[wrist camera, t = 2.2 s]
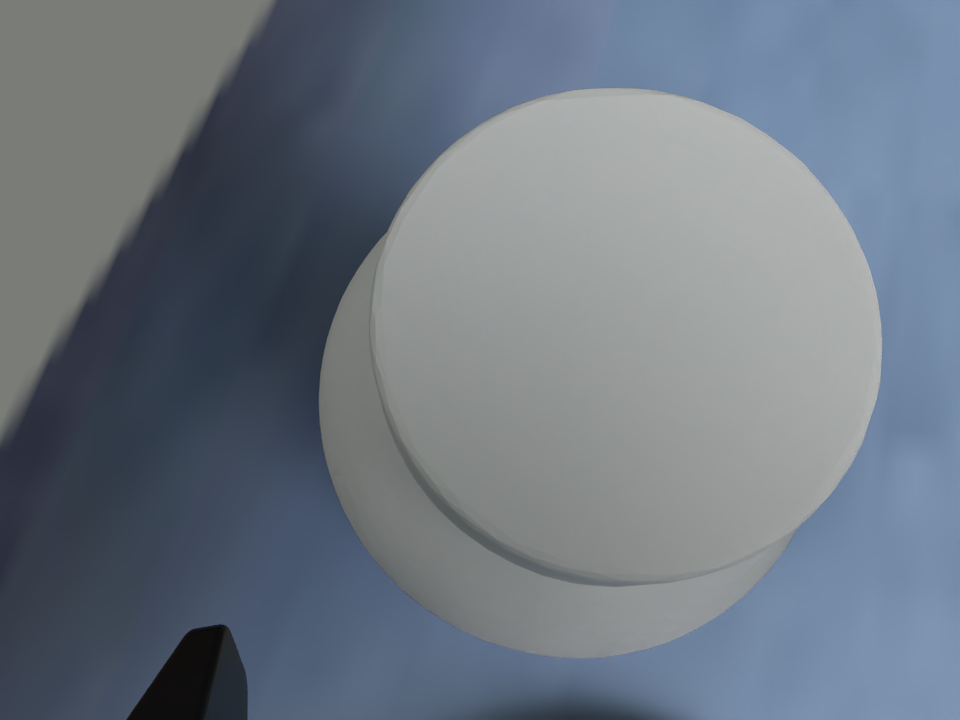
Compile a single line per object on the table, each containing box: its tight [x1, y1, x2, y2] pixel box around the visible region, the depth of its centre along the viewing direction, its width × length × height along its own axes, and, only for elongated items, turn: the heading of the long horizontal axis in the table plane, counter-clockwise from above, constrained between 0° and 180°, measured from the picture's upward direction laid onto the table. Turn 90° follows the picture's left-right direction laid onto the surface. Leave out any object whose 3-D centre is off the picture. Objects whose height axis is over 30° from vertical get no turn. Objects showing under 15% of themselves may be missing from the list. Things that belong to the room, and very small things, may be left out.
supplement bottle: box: [319, 88, 882, 658], centre depth 14 cm, size 7×7×13 cm
